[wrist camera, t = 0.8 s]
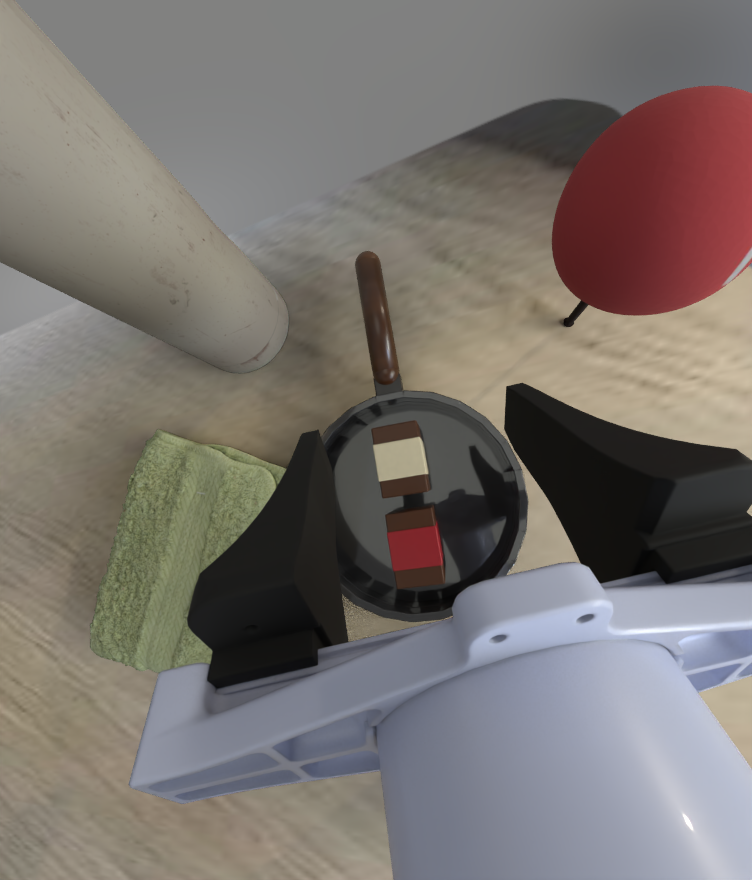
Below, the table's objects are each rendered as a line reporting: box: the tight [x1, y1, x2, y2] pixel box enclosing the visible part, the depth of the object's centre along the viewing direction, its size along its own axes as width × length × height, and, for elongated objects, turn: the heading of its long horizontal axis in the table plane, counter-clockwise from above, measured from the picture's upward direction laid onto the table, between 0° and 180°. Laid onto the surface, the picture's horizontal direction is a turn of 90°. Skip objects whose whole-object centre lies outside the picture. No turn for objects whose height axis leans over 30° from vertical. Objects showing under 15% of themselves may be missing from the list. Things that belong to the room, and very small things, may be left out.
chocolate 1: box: [371, 420, 431, 499], centre depth 26 cm, size 5×3×3 cm
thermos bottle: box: [0, 0, 289, 373], centre depth 18 cm, size 8×8×28 cm
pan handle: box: [355, 251, 403, 396], centre depth 27 cm, size 11×2×2 cm, turn 9°
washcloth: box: [90, 429, 286, 673], centre depth 28 cm, size 13×18×3 cm
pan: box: [321, 390, 528, 622], centre depth 26 cm, size 15×15×3 cm
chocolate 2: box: [385, 505, 445, 589], centre depth 25 cm, size 5×3×3 cm
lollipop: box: [552, 86, 752, 327], centre depth 19 cm, size 8×8×15 cm
